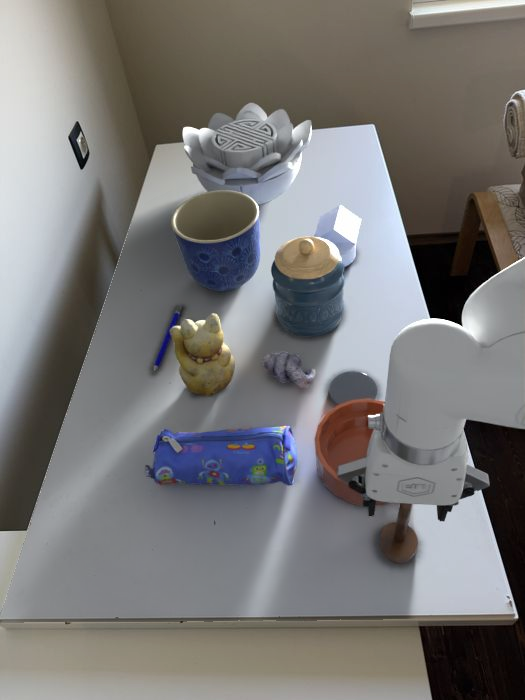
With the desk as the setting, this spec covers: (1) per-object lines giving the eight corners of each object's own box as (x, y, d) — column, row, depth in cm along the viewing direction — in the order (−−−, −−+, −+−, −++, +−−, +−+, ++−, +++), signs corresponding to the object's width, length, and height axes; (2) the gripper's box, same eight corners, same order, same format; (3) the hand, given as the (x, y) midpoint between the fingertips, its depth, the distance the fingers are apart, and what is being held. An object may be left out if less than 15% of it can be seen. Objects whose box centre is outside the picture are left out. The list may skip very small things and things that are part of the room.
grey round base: (387, 392, 94) (387, 390, 93) (352, 419, 91) (352, 417, 91) (353, 366, 98) (353, 363, 98) (319, 390, 96) (319, 388, 95)
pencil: (178, 308, 113) (177, 304, 112) (182, 308, 113) (181, 304, 112) (152, 372, 102) (151, 369, 101) (157, 373, 102) (156, 369, 101)
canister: (286, 345, 103) (278, 273, 90) (269, 300, 112) (260, 227, 99) (353, 329, 104) (355, 254, 91) (331, 285, 113) (330, 211, 100)
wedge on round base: (320, 229, 125) (308, 267, 117) (319, 203, 120) (307, 241, 112) (360, 232, 123) (351, 270, 115) (361, 206, 118) (352, 244, 110)
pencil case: (154, 496, 85) (137, 464, 78) (163, 447, 91) (148, 414, 84) (298, 496, 83) (294, 463, 76) (298, 446, 89) (295, 411, 82)
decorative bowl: (164, 203, 138) (148, 147, 127) (244, 150, 152) (236, 95, 141) (254, 246, 124) (246, 187, 112) (334, 182, 137) (334, 124, 126)
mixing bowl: (438, 466, 84) (444, 444, 79) (366, 529, 79) (367, 510, 74) (365, 405, 93) (367, 382, 88) (296, 458, 87) (293, 437, 83)
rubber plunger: (424, 547, 76) (440, 490, 64) (398, 571, 74) (410, 517, 62) (396, 521, 79) (407, 461, 67) (371, 543, 77) (377, 487, 65)
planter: (283, 270, 117) (277, 209, 106) (223, 315, 110) (210, 254, 99) (228, 240, 126) (218, 180, 115) (170, 279, 119) (153, 219, 108)
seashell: (316, 387, 98) (265, 372, 101) (322, 358, 96) (270, 343, 100) (305, 394, 93) (252, 377, 97) (311, 363, 92) (257, 348, 95)
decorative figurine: (231, 359, 102) (218, 299, 91) (244, 392, 97) (232, 333, 86) (180, 375, 101) (160, 317, 90) (191, 410, 96) (172, 352, 84)
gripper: (330, 455, 54) (332, 532, 67) (522, 465, 51) (484, 543, 64) (333, 393, 59) (334, 475, 72) (508, 399, 56) (475, 483, 69)
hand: (405, 507), depth 68 cm, fingers open, 7 cm apart
